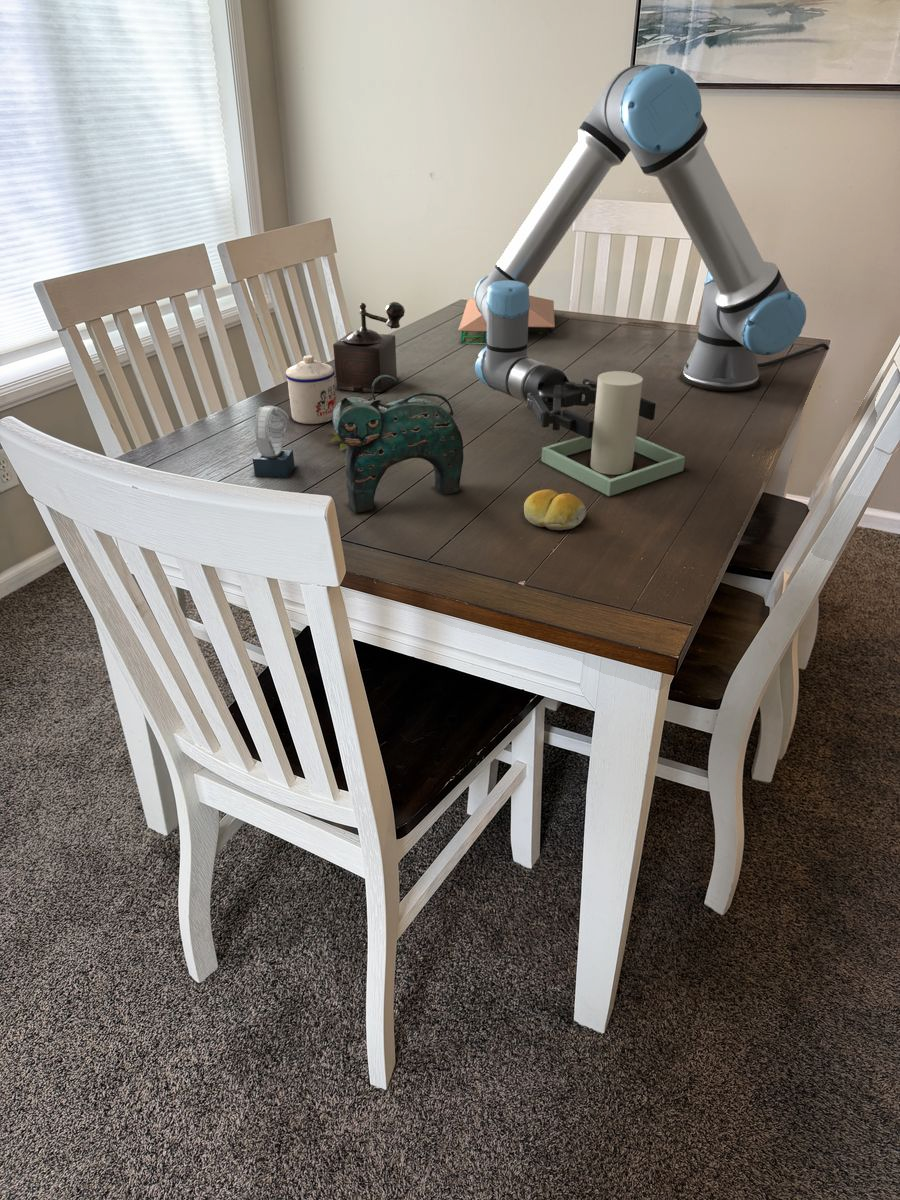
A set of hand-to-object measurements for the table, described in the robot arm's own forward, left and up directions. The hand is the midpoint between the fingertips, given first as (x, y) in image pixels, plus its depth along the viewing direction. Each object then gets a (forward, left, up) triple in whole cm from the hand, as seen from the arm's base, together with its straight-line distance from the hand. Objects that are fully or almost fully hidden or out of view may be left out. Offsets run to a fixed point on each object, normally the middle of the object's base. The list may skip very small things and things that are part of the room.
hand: (623, 420), depth 133 cm
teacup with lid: (+29, -53, -9) cm, 61 cm away
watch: (+47, -33, -9) cm, 58 cm away
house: (-39, -81, -9) cm, 90 cm away
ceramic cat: (+35, -12, -9) cm, 38 cm away
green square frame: (0, -2, -9) cm, 9 cm away
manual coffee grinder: (+11, -61, -9) cm, 62 cm away
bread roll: (+20, +7, -9) cm, 23 cm away
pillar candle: (0, -2, -9) cm, 9 cm away
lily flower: (+29, -36, -9) cm, 47 cm away
